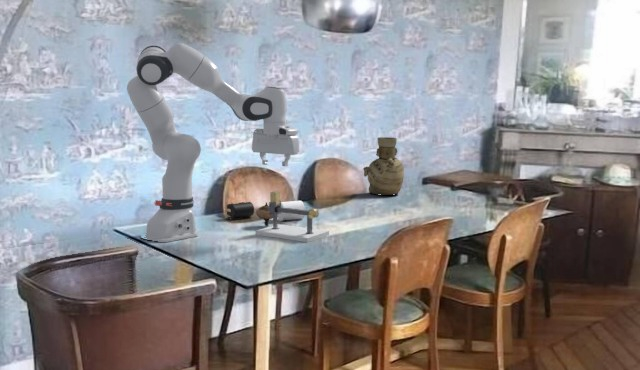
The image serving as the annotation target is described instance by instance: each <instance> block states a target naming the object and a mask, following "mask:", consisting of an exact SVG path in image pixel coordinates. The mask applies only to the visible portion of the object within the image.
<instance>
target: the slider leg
mask: <svg viewBox="0 0 640 370" xmlns="http://www.w3.org/2000/svg"><path fill="white" fill-rule="evenodd" d="M280 197H281V194H280V191H276V190H275V191H270V195H269V199H270V202H269V203H268V206H269V215H273V218H272V226H273V227H274V228H276V227H277V225H278V217H277V214H281V212H275V207H281V202H282V201H281V199H280Z"/></svg>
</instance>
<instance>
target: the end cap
mask: <svg viewBox="0 0 640 370" xmlns="http://www.w3.org/2000/svg"><path fill="white" fill-rule="evenodd" d="M226 209H228V210H230V211H226V215H227V219H228V218H231V219H230V220H232V219H233V220H240V219H246V218H247V219H248V218H251V217H252V216H253V215H254V213H255V206H254V204H253V202H251V201H246V202H244V201H242V202H238V203H228V204H227V205H226ZM239 218H240V219H239Z"/></svg>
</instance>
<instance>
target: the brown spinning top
mask: <svg viewBox="0 0 640 370" xmlns="http://www.w3.org/2000/svg"><path fill="white" fill-rule="evenodd" d="M268 207H269V204H268V203H267V202H265V205H262V206H261V207H259V208H257V209H255V210H256V211H255V214H256V216H257V217H258V218H259V219H262V220H264V226H265V227H270V226H269V225H270V224H269V221H270V220H271V219H273V215H269V211H268Z"/></svg>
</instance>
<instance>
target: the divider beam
mask: <svg viewBox="0 0 640 370" xmlns="http://www.w3.org/2000/svg"><path fill="white" fill-rule="evenodd" d="M268 211H269V207H268ZM275 212H283V213H291V214H299V215H304V216H306V228H307V233H312V229H313V219H316V218H318V217H319V215H320V212H319V210H318V209H317V208H310V209H309V210H307V209H305V210H300V209H291V208H283V207H275Z"/></svg>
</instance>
